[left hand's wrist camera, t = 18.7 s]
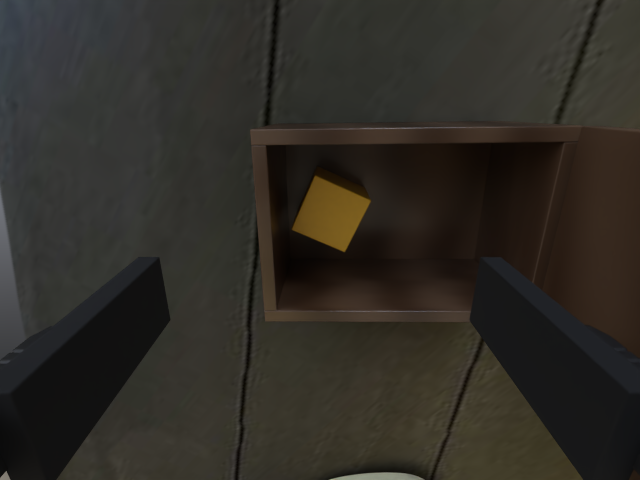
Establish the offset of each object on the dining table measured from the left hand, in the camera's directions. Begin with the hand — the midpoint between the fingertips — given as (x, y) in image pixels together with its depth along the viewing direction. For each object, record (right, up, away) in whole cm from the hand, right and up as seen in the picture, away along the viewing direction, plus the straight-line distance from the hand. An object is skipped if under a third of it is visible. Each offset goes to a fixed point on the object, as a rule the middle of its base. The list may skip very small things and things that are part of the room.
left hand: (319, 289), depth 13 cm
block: (+1, +5, +14) cm, 15 cm away
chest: (+5, +5, +15) cm, 16 cm away
